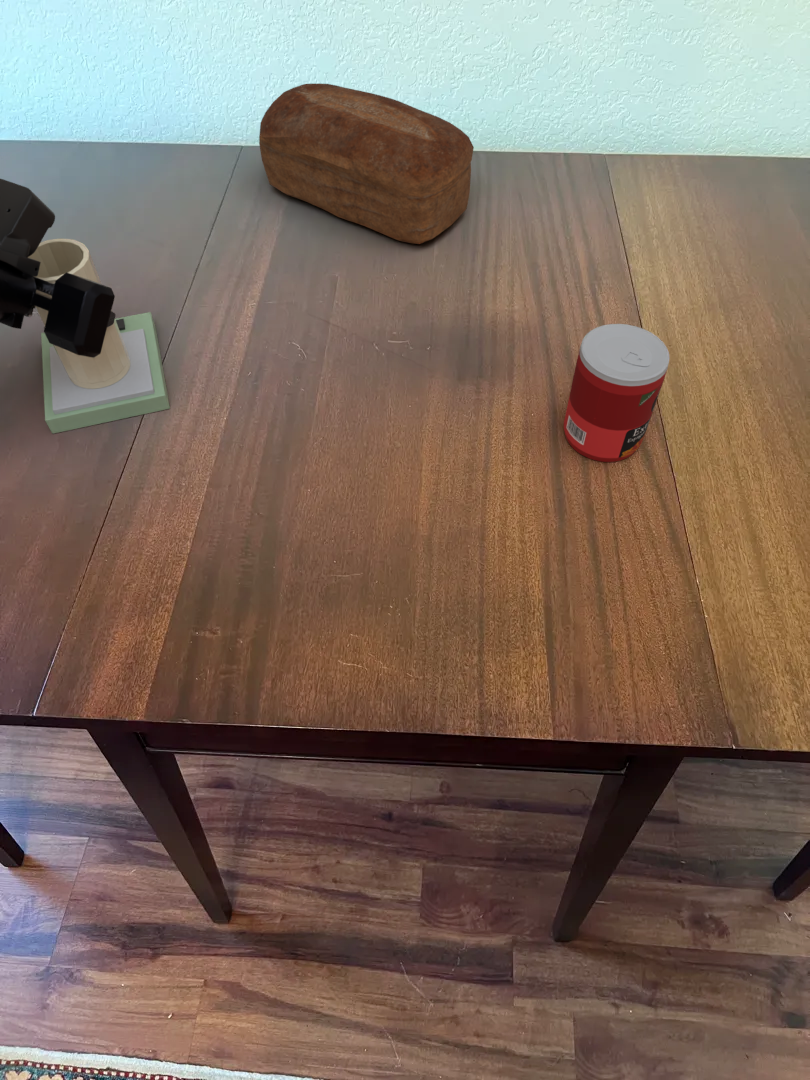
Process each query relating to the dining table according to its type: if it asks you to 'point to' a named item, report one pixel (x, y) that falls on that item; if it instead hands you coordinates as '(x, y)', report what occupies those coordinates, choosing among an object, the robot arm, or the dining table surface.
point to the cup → (114, 355)
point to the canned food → (614, 391)
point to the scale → (114, 402)
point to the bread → (367, 159)
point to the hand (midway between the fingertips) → (87, 308)
